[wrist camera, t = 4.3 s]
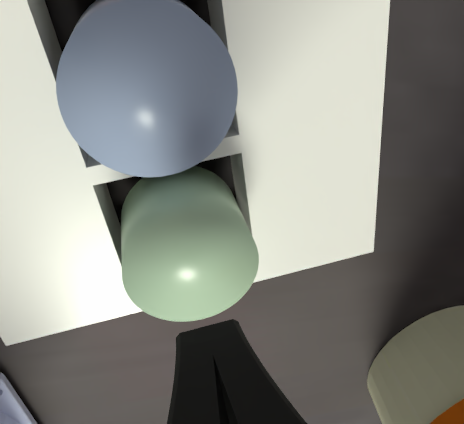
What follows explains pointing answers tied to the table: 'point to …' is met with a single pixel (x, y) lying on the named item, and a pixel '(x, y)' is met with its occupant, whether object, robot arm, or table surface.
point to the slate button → (146, 86)
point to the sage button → (185, 246)
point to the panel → (234, 144)
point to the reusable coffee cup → (422, 372)
